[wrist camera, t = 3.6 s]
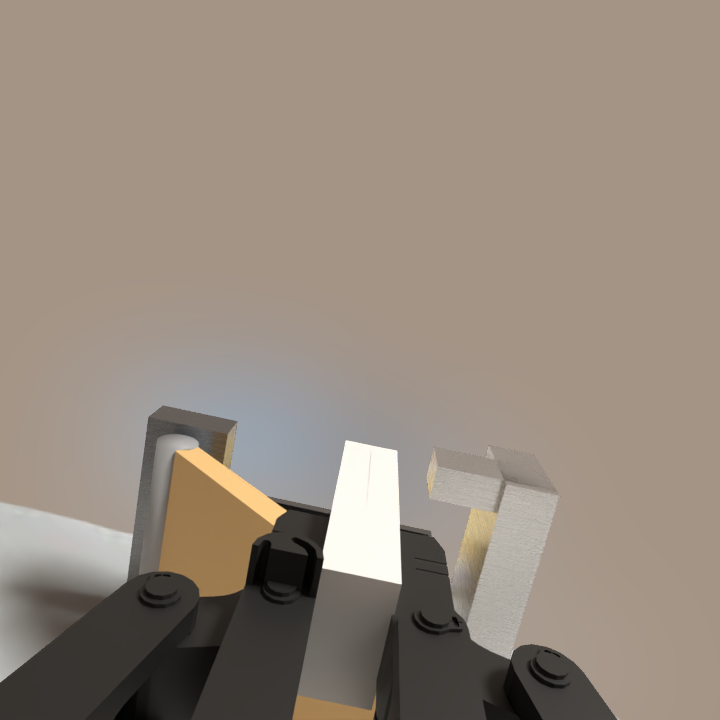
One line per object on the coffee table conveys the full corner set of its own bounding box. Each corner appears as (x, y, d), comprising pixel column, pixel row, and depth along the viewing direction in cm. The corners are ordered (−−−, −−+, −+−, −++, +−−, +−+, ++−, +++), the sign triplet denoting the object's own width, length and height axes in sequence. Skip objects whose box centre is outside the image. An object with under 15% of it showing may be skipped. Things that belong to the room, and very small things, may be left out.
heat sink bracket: (95, 662, 36) (126, 403, 33) (149, 583, 45) (179, 368, 41) (482, 745, 36) (559, 495, 33) (466, 651, 44) (526, 441, 41)
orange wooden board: (122, 638, 38) (148, 437, 35) (157, 624, 40) (185, 432, 37) (326, 898, 26) (394, 627, 23) (362, 862, 28) (430, 606, 25)
